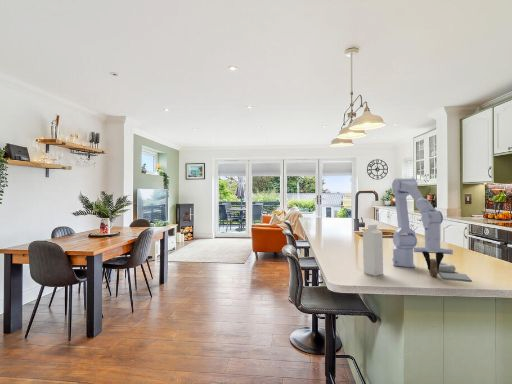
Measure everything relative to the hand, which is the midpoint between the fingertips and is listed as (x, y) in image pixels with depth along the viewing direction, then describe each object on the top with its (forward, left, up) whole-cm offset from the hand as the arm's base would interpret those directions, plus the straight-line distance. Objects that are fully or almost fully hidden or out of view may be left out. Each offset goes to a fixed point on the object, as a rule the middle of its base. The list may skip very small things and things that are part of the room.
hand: (433, 269), depth 127 cm
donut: (+9, +15, -1) cm, 18 cm away
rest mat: (+8, +1, -3) cm, 9 cm away
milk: (-24, -5, -3) cm, 25 cm away
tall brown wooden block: (0, 0, -2) cm, 2 cm away
